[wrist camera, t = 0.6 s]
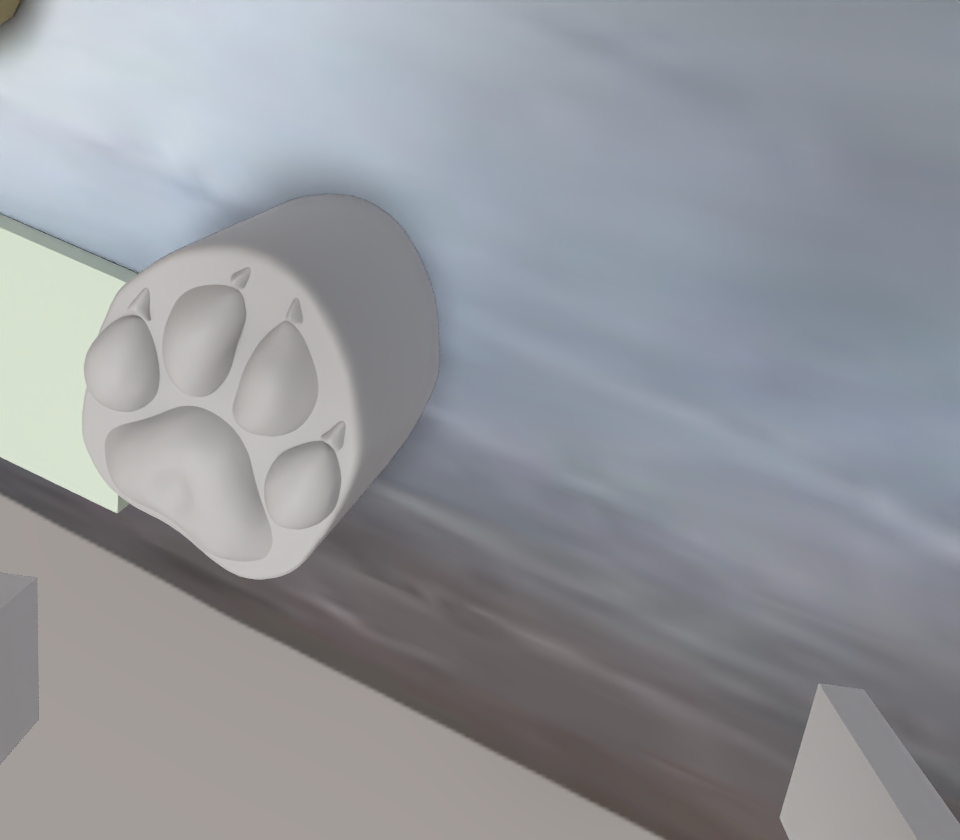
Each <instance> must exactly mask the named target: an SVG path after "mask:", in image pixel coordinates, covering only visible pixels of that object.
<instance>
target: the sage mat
mask: <svg viewBox="0 0 960 840" xmlns="http://www.w3.org/2000/svg"><path fill="white" fill-rule="evenodd" d="M137 274H138V273H135V272H133V271H131V270H128V269H126V268H124V267H121V266H119V265H117V264H114V263H112V262H110V261H108V260H105V259H103V258H101V257H98V256H96V255H94V254H91V253H89V252H87V251H84V250H82V249H80V248H78V247H75V246H73V245H71V244H68V243H66V242H64V241H61V240H59V239H57V238H54V237H52V236H50V235H48V234H45V233H43V232H41V231H38V230H36V229H34V228H31V227H29V226H27V225H24V224H22V223H20V222H18V221H15V220H13V219H11V218H8V217H6V216H4V215H1V214H0V457H2V458H4V459H6V460H8V461H10V462H12V463H14V464H16V465H18V466H20V467H22V468H24V469H26V470H28V471H31V472H33V473H35V474H37V475H39V476H41V477H43V478H45V479H47V480H49V481H51V482H53V483H55V484H57V485H60V486H62V487H64V488H66V489H68V490H70V491H72V492H74V493H76V494H78V495H80V496H82V497H84V498H86V499H88V500H91V501H93V502H95V503H97V504H99V505H101V506H103V507H105V508H107V509H109V510H111V511H113V512H115V513H119V512H120V511H121V510H122V509H124V508H125V507H126V506H127V505H129V504H130V503H128V502H127V501H125V500H124V499H123V498H121V497H120V496H119V495H118V494H117V493H115V492H114V491H113V490H112V489H111V488H110V487H109V486H108V485H107V483H106V482H105V481H104V480H103V478H102V477H101V475H100V474H99V472H98V470H97V469H96V467H95V466H94V464H93V462H92V459H91V457H90V455H89V453H88V451H87V448H86V446H85V443H84V439H83V433H82V412H83V405H84V397H85V392H86V387H87V385H86V381H85V377H84V362H85V357H86V354H87V352H88V350H89V348H90V346H91V344H92V343H93V342H94V340H95V339H96V338H97V337H98V334H99V331H100V328H101V326H102V324H103V322H104V319H105V317H106V315H107V312H108V310H109V307H110V305H111V303H112V301H113V299H114V297H115V295H116V294H117V292H118V291H119V290H120V288H121V287H123V286H124V285H125V284H126V283H127V282H128V281H129V280H131V279H132V278H133V277H134V276H136V275H137Z"/></svg>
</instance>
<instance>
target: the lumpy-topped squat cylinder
mask: <svg viewBox="0 0 960 840" xmlns="http://www.w3.org/2000/svg"><path fill="white" fill-rule="evenodd" d="M439 365H440V342H439V325H438V315H437V307H436V301H435V296H434V292H433V288H432V285H431V282H430V279H429V277H428V274H427V271H426V269H425V267H424V264H423V262H422V260H421V258H420V256H419V254H418V252H417V250H416V248H415V246H414V244H413V243H412V241H411V239H410V238H409V236H408V235H407V233H406V232H405V231H404V229H403V228H402V227H401V226H400V225H399V223H398V222H397V221H396V220H395V219H394V218H392V217H391V216H390V215H389V214H388V213H386V212H385V211H384V210H382V209H381V208H379V207H378V206H376V205H374V204H372V203H370V202H368V201H366V200H363V199H361V198H357V197H354V196H349V195H341V194H321V195H311V196H305V197H299V198H295V199H292V200H290V201H287V202H285V203H283V204H280V205H278V206H276V207H273V208H271V209H269V210H267V211H264V212H262V213H260V214H257V215H255V216H253V217H251V218H248V219H246V220H244V221H241V222H239V223H237V224H235V225H232V226H230V227H228V228H225V229H223V230H221V231H219V232H216V233H214V234H212V235H209V236H207V237H205V238H202V239H200V240H198V241H196V242H194V243H191V244H189V245H187V246H185V247H182V248H180V249H178V250H176V251H174V252H172V253H170V254H168V255H166V256H164V257H163V258H161V259H159V260H158V261H156V262H154V263H153V264H151V265H150V266H148V267H147V268H145V269H144V270H143V271H141V272H140V273H138V274H137V275H136V276H134V277H133V278H132V279H131V280H129V281H128V282H127V283H126V284H125V285H124V286H123V287H121V288H120V290H119V291H118V292H117V294H116V295H115V297H114V299H113V301H112V303H111V305H110V307H109V310H108V312H107V315H106V317H105V319H104V322H103V324H102V326H101V328H100V331H99V334H98V337H97V338H96V339H95V340H94V342H93V343H92V344H91V346H90V348H89V350H88V352H87V354H86V357H85V362H84V377H85V381H86V385H87V387H86V392H85V397H84V405H83V412H82V433H83V439H84V443H85V446H86V448H87V451H88V453H89V455H90V457H91V459H92V462H93V464H94V466H95V467H96V469H97V470H98V472H99V474H100V475H101V477H102V478H103V480H104V481H105V482H106V483H107V485H108V486H109V487H110V488H111V489H112V490H113V491H114V492H115V493H117V494H118V495H119V496H120V497H121V498H123V499H124V500H125V501H127V502H128V503H130V504H131V505H133V506H135V507H136V508H138V509H140V510H142V511H144V512H146V513H148V514H150V515H152V516H154V517H156V518H158V519H160V520H161V521H163V522H165V523H166V524H168V525H170V526H171V527H173V528H174V529H176V530H177V531H178V532H180V533H181V534H183V535H184V536H185V537H186V538H188V539H189V540H190V541H191V542H192V543H193V544H195V545H196V546H197V547H198V548H199V549H200V550H201V551H203V552H204V553H205V554H206V555H207V556H208V557H210V558H211V559H212V560H213V561H215V562H216V563H217V564H219V565H220V566H222V567H223V568H225V569H226V570H228V571H230V572H232V573H234V574H236V575H238V576H241V577H244V578H250V579H269V578H275V577H280V576H283V575H285V574H288V573H290V572H292V571H293V570H295V569H296V568H298V567H299V566H300V565H301V564H302V563H304V562H305V561H306V560H307V559H308V557H309V556H310V555H311V554H312V553H313V552H314V550H315V549H316V548H317V547H318V546H319V544H320V543H321V542H322V541H323V540H324V539H325V537H326V536H327V535H328V534H329V533H330V531H331V530H332V529H333V528H334V527H335V526H336V524H337V523H338V522H339V521H340V520H341V518H342V517H343V516H344V515H345V514H346V513H347V511H348V510H349V509H350V508H351V507H352V506H353V504H354V503H355V502H356V501H357V500H358V499H359V497H360V496H361V495H362V494H363V493H364V491H365V490H366V489H367V488H368V487H369V486H370V484H371V483H372V482H373V481H374V480H375V478H376V477H377V476H378V475H379V474H380V473H381V471H382V470H383V469H384V468H385V467H386V466H387V464H388V463H389V462H390V461H391V459H392V458H393V456H394V455H395V454H396V452H397V451H398V450H399V449H400V447H401V446H402V445H403V443H404V442H405V441H406V439H407V438H408V436H409V435H410V433H411V432H412V430H413V428H414V427H415V425H416V423H417V421H418V420H419V418H420V416H421V414H422V412H423V410H424V408H425V406H426V404H427V402H428V400H429V398H430V396H431V394H432V391H433V389H434V386H435V384H436V381H437V377H438V373H439Z"/></svg>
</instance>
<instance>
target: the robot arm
mask: <svg viewBox="0 0 960 840" xmlns="http://www.w3.org/2000/svg"><path fill="white" fill-rule="evenodd" d="M37 598H38V596H37V577H30V576H23V575H14V574H8V573H1V572H0V764H1V763H2V762H3V761H4V760H5V759H6V757H7V756H8V755H9V754H10V753H11V752H12V750H13V749H14V748H15V747H16V746H17V744H18V743H19V742H20V741H21V740H22V739H23V737H24V736H25V735H26V734H27V733H28V732H29V730H30V729H31V728H32V727H33V726H34V724H35V723H36V722H37V721H38V720H39V685H38V604H37V603H38V602H37ZM780 820H781V822H782V824H783V827H784V829H785V831H786V833H787V836H788V838H789V840H960V824H959V822H958V821H957V820H956V818H955V817H954V815H953V814H952V813H951V811H950V810H949V808H948V807H947V806H946V804H945V803H944V801H943V800H942V799H941V797H940V796H939V794H938V793H937V792H936V790H935V789H934V787H933V786H932V785H931V783H930V782H929V780H928V779H927V778H926V776H925V775H924V773H923V772H922V771H921V769H920V768H919V766H918V765H917V764H916V762H915V761H914V759H913V758H912V757H911V755H910V754H909V752H908V751H907V750H906V748H905V747H904V745H903V744H902V743H901V741H900V740H899V738H898V737H897V736H896V734H895V733H894V731H893V730H892V729H891V727H890V726H889V724H888V723H887V722H886V720H885V719H884V717H883V716H882V715H881V713H880V712H879V710H878V709H877V708H876V706H875V705H874V703H873V702H872V701H871V699H870V698H869V696H868V695H867V694H866V692H865V691H864V690H863V689H856V688H848V687H841V686H834V685H826V684H818V688H817V691H816V695H815V698H814V702H813V705H812V709H811V712H810V715H809V719H808V722H807V726H806V729H805V733H804V736H803V739H802V743H801V746H800V750H799V753H798V757H797V760H796V763H795V767H794V770H793V774H792V777H791V781H790V784H789V787H788V791H787V794H786V798H785V801H784V805H783V808H782V811H781V815H780Z"/></svg>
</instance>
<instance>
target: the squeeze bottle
mask: <svg viewBox="0 0 960 840" xmlns="http://www.w3.org/2000/svg"><path fill="white" fill-rule="evenodd" d="M19 3H20V0H0V25H1V24H3V23H4V22H5V21H7V20H8V19H10V18H11V17H13V15H14V13H15V11H16V9H17V7H18V5H19Z"/></svg>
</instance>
